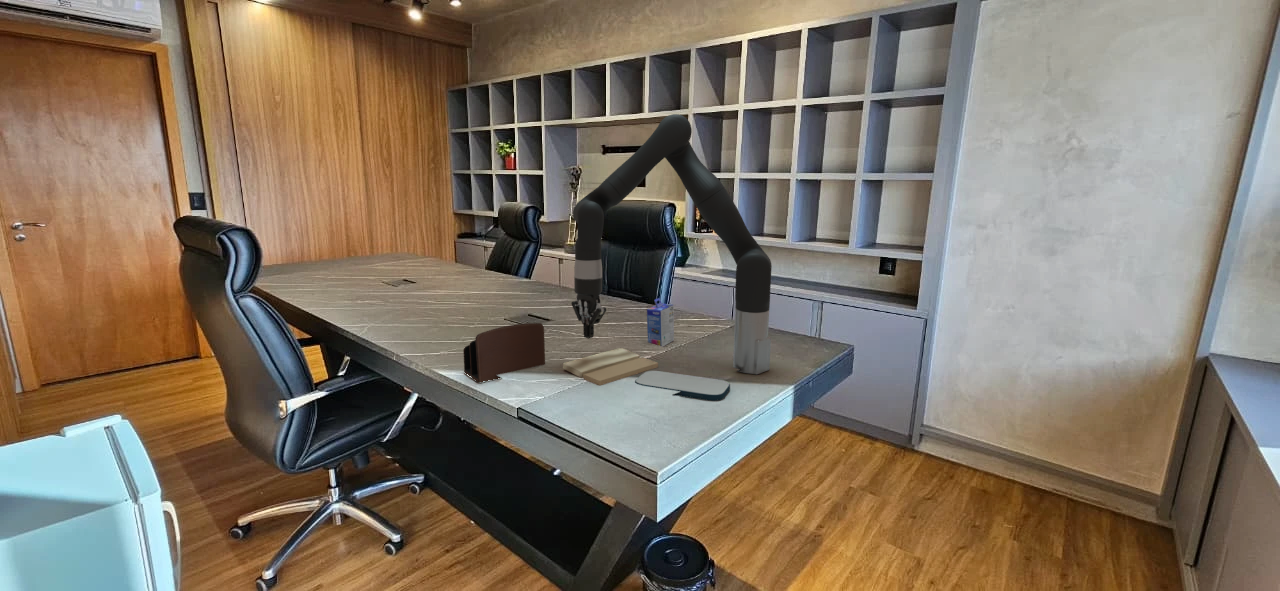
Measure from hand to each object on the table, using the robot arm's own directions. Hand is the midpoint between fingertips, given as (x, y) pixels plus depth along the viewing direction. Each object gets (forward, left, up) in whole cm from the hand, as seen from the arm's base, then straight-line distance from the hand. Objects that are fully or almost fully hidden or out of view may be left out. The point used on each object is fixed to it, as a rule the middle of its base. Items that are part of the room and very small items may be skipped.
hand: (588, 337), depth 159 cm
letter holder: (+15, +17, -10) cm, 25 cm away
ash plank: (-3, -3, -8) cm, 9 cm away
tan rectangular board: (-6, -3, -9) cm, 12 cm away
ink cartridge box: (+5, -34, -10) cm, 35 cm away
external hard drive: (-27, -9, -10) cm, 30 cm away
